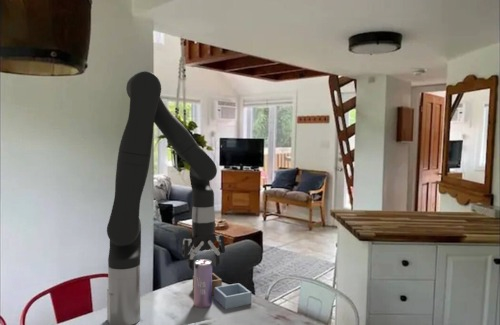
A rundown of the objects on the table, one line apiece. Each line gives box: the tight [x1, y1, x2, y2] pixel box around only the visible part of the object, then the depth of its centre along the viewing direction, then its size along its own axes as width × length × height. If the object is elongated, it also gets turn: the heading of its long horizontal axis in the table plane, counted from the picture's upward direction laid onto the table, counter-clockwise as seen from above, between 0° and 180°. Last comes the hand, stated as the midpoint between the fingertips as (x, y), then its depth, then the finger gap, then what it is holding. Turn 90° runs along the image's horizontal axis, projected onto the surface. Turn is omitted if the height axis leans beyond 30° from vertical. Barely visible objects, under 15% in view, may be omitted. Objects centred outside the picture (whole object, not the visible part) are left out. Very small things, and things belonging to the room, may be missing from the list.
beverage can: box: [193, 259, 213, 309], centre depth 125 cm, size 6×6×15 cm
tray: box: [213, 282, 253, 310], centre depth 128 cm, size 10×10×5 cm
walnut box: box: [192, 272, 223, 297], centre depth 136 cm, size 8×8×6 cm
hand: (203, 267), depth 125 cm, fingers open, 8 cm apart
